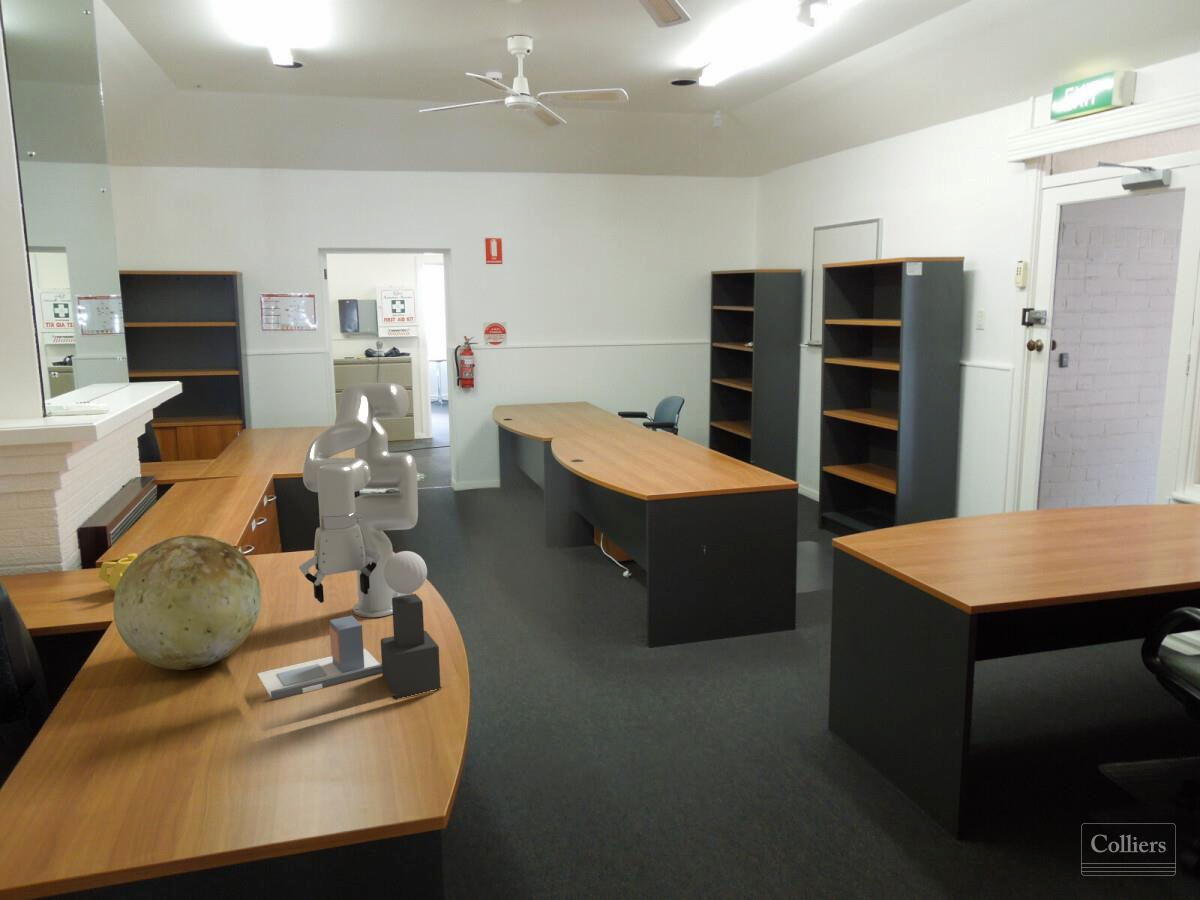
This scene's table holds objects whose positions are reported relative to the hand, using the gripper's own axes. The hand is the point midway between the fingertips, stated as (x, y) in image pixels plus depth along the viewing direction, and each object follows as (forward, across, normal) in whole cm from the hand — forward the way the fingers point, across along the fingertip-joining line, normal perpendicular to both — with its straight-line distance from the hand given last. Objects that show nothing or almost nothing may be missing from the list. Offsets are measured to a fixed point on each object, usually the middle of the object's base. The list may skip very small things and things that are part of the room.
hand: (342, 596), depth 185 cm
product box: (+16, 0, -1) cm, 16 cm away
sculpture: (+18, -10, +14) cm, 25 cm away
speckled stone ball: (+18, +28, -25) cm, 41 cm away
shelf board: (+18, +6, -1) cm, 19 cm away
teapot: (+17, +34, -89) cm, 97 cm away
